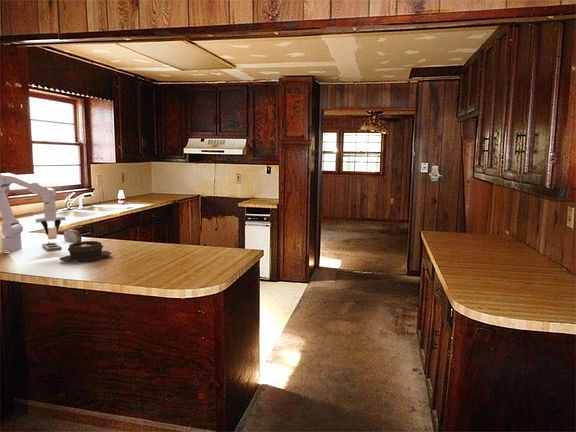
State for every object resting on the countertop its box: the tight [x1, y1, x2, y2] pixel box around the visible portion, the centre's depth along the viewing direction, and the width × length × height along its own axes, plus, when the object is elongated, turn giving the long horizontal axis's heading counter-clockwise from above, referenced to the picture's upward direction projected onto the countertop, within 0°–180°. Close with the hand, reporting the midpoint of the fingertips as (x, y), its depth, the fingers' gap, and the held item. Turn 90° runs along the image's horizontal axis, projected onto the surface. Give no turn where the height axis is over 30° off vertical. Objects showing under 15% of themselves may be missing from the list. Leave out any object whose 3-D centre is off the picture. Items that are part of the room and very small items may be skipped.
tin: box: [63, 228, 83, 243], centre depth 265 cm, size 15×3×8 cm, turn 58°
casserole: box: [59, 240, 112, 263], centre depth 227 cm, size 25×19×8 cm
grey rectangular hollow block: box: [41, 242, 63, 252], centre depth 246 cm, size 7×15×4 cm, turn 39°
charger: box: [46, 225, 58, 240], centre depth 242 cm, size 4×5×7 cm
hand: (51, 234), depth 242 cm, fingers closed on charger, 4 cm apart
